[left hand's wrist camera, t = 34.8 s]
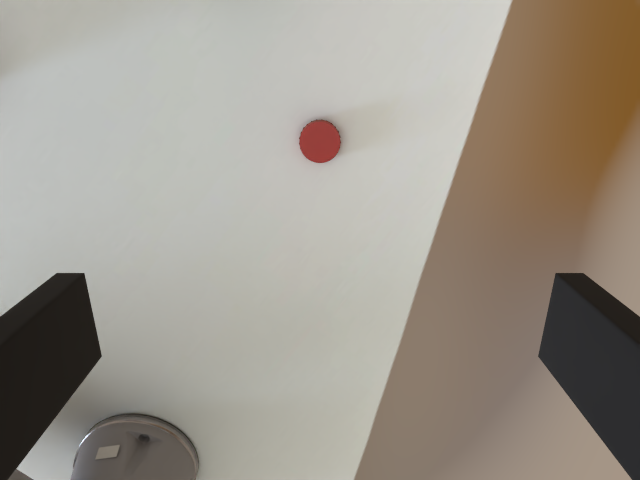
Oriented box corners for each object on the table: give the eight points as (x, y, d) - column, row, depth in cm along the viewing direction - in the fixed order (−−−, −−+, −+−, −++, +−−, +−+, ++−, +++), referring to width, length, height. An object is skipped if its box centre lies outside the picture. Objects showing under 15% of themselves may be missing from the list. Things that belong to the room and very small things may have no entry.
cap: (301, 162, 44) (301, 165, 43) (297, 121, 43) (296, 123, 42) (341, 158, 44) (342, 161, 43) (338, 117, 43) (339, 118, 42)
